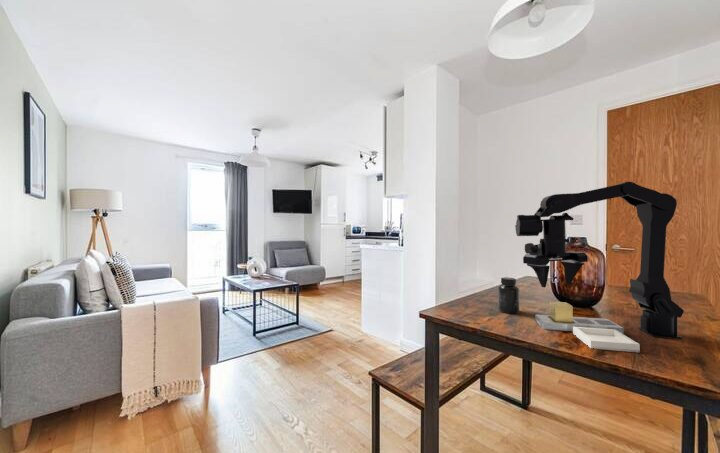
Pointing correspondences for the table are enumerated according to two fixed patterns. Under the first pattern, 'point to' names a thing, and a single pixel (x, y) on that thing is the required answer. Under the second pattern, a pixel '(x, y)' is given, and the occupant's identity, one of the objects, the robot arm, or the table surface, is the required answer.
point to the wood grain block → (561, 312)
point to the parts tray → (606, 339)
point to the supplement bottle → (508, 296)
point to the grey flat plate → (577, 323)
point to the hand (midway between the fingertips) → (555, 286)
